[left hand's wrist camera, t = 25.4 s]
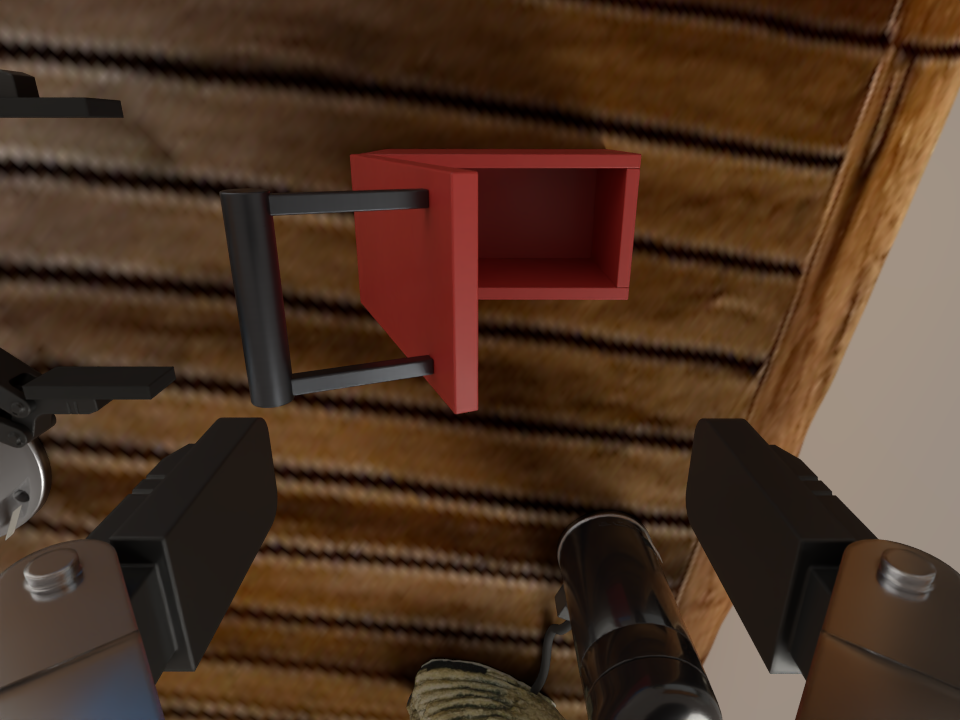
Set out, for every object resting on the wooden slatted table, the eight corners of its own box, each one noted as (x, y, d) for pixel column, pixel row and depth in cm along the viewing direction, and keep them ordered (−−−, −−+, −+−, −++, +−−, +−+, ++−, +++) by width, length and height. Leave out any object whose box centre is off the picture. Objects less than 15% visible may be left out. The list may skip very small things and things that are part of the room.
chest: (606, 149, 46) (641, 153, 36) (598, 265, 49) (628, 299, 39) (385, 149, 46) (359, 153, 36) (391, 265, 49) (369, 299, 39)
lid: (479, 171, 20) (216, 177, 17) (479, 410, 24) (258, 450, 21) (366, 154, 36) (216, 155, 33) (376, 301, 39) (240, 314, 36)
